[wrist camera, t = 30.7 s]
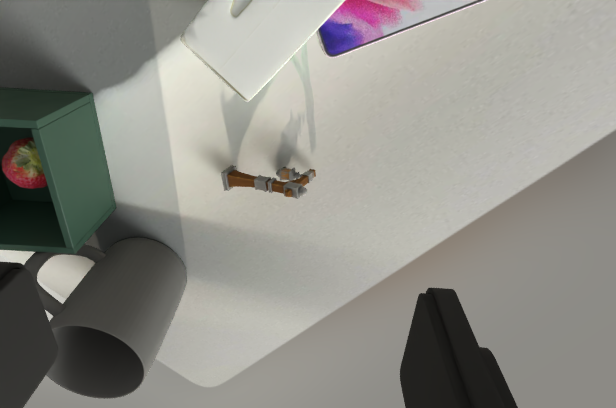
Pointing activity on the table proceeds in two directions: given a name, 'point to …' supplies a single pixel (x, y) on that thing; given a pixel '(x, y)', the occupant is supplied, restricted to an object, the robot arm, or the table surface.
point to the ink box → (253, 37)
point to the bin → (54, 171)
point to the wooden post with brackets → (270, 181)
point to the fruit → (24, 164)
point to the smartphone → (380, 21)
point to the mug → (113, 316)
